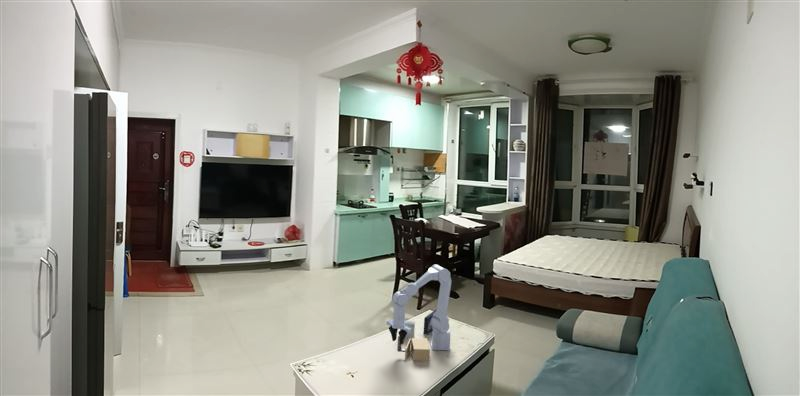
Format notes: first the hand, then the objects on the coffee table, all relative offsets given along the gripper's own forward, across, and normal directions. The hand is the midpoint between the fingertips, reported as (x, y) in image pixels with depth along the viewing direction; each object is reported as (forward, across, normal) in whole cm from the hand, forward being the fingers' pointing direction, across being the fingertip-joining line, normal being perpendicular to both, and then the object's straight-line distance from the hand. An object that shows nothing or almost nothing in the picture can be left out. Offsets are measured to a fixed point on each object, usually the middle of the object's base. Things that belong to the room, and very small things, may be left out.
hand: (397, 342), depth 200 cm
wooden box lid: (+7, +1, +3) cm, 8 cm away
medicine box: (+7, -10, +19) cm, 23 cm away
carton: (+7, +8, +8) cm, 13 cm away
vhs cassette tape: (+7, -6, +38) cm, 39 cm away
